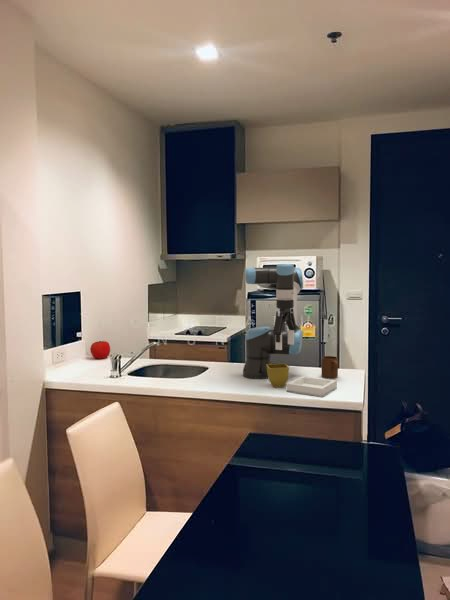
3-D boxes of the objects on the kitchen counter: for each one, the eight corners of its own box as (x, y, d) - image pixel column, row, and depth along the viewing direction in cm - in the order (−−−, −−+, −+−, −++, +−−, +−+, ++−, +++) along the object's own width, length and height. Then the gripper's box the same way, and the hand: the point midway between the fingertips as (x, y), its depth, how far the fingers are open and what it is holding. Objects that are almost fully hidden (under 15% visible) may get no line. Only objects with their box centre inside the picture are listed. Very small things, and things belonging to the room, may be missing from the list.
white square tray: (286, 391, 214) (286, 383, 213) (302, 383, 227) (302, 376, 227) (322, 397, 205) (322, 388, 205) (336, 388, 218) (336, 380, 218)
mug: (344, 380, 232) (345, 360, 232) (329, 381, 231) (329, 361, 230) (333, 374, 244) (333, 355, 243) (318, 375, 242) (318, 356, 241)
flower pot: (269, 388, 219) (269, 368, 218) (266, 383, 228) (266, 363, 227) (289, 388, 220) (289, 367, 219) (285, 383, 229) (285, 363, 228)
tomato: (114, 356, 294) (113, 338, 294) (105, 360, 282) (104, 342, 281) (96, 355, 297) (95, 338, 296) (86, 360, 284) (85, 342, 283)
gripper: (281, 302, 208) (281, 352, 210) (303, 297, 230) (303, 343, 232) (265, 301, 212) (265, 351, 214) (288, 296, 234) (288, 341, 236)
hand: (284, 347), depth 223 cm, fingers open, 13 cm apart
